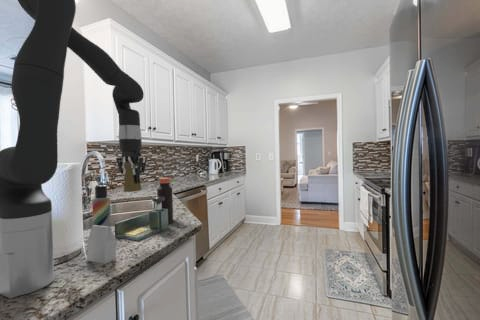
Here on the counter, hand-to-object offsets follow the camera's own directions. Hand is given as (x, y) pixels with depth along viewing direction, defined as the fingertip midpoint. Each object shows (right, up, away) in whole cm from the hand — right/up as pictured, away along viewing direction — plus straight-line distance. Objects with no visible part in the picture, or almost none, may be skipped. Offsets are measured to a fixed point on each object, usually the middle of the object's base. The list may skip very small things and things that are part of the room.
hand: (132, 184), depth 86 cm
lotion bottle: (-11, -20, 0) cm, 23 cm away
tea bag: (-1, -21, -18) cm, 27 cm away
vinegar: (+5, -20, +23) cm, 30 cm away
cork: (0, -2, 0) cm, 2 cm away
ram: (+6, -15, +10) cm, 19 cm away
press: (+1, -20, +7) cm, 21 cm away
